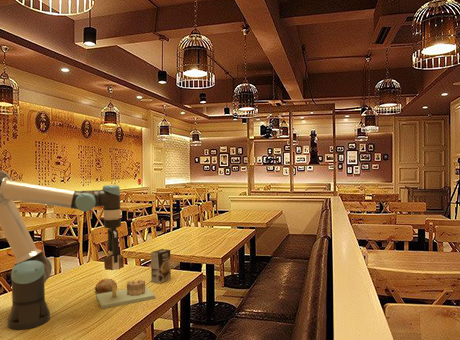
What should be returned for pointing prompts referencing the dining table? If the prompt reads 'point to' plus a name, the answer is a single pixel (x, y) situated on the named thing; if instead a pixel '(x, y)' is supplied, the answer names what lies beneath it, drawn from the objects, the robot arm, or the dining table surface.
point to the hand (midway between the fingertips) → (113, 267)
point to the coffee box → (160, 266)
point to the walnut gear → (109, 262)
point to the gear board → (122, 297)
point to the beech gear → (136, 288)
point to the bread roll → (104, 286)
